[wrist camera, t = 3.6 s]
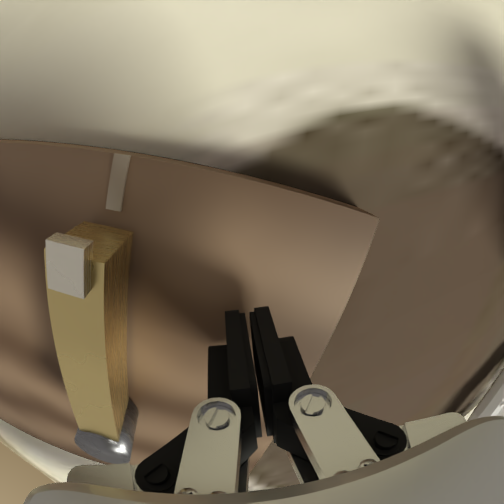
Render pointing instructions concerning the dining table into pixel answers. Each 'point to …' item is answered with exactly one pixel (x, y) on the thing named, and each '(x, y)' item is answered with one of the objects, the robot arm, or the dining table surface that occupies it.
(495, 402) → the pretzel
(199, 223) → the tuner board
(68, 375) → the peg
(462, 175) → the dining table surface
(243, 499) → the robot arm
